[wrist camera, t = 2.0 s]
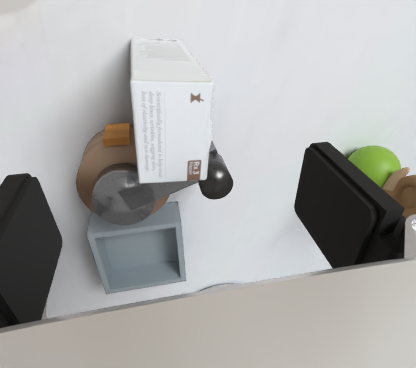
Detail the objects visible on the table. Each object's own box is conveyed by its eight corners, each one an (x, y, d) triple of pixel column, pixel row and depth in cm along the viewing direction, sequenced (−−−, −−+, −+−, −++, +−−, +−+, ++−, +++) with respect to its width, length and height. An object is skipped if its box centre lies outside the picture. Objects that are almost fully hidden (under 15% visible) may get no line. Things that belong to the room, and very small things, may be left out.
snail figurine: (323, 184, 36) (393, 259, 26) (346, 135, 32) (436, 200, 23) (361, 186, 37) (440, 259, 27) (387, 139, 34) (487, 203, 24)
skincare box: (128, 36, 23) (120, 74, 14) (185, 38, 24) (216, 75, 14) (134, 112, 27) (131, 187, 17) (184, 112, 28) (209, 182, 18)
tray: (182, 258, 38) (186, 280, 35) (108, 270, 37) (106, 294, 34) (177, 201, 33) (181, 221, 30) (91, 212, 32) (86, 234, 29)
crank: (114, 218, 27) (110, 259, 23) (82, 177, 25) (71, 216, 21) (226, 170, 27) (242, 203, 23) (207, 122, 24) (221, 151, 20)
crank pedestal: (171, 191, 32) (174, 215, 29) (94, 201, 31) (88, 226, 28) (163, 115, 27) (166, 133, 24) (71, 123, 26) (62, 142, 23)
